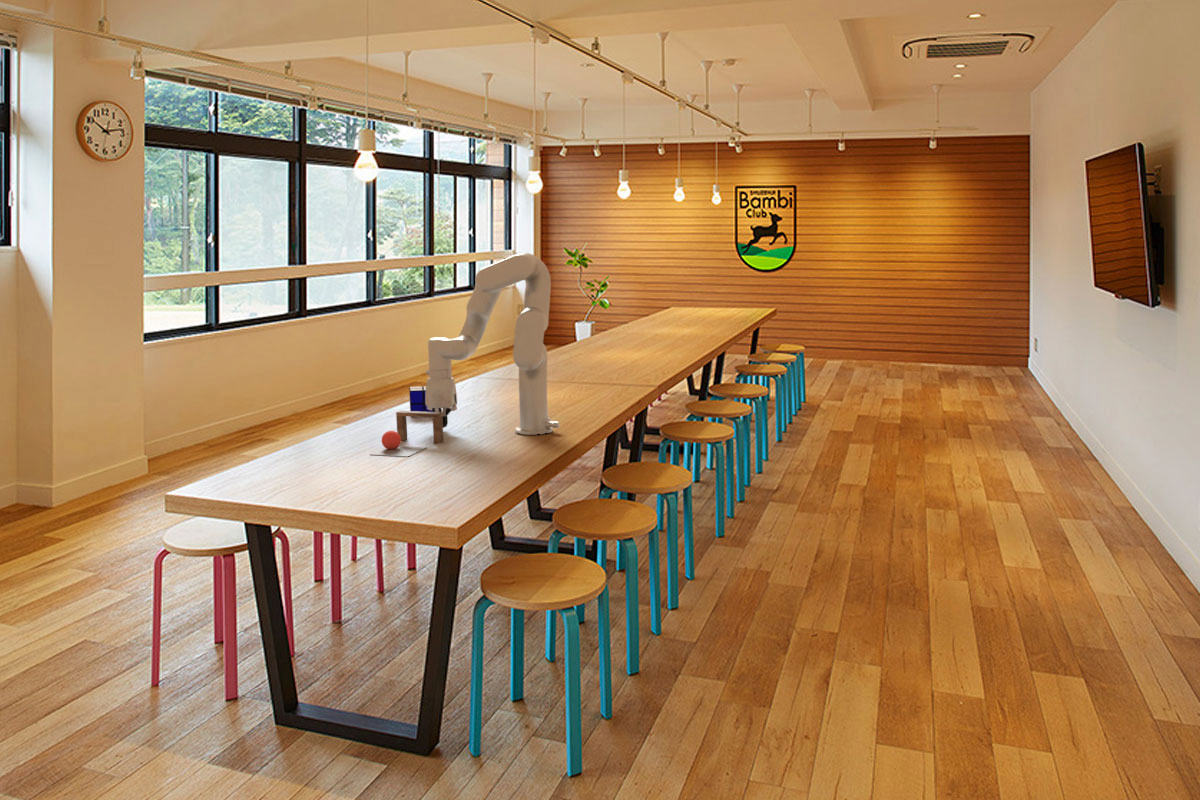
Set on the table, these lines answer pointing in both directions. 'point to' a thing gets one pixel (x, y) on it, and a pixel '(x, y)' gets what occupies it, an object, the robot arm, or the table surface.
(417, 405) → the puzzle cube
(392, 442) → the ball
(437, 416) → the bridge
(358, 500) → the table surface
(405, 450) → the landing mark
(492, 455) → the table surface
